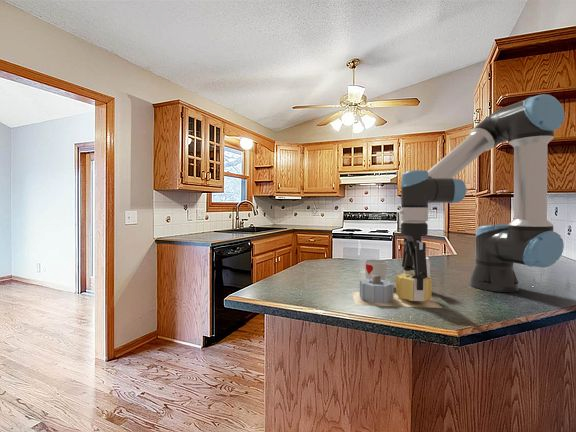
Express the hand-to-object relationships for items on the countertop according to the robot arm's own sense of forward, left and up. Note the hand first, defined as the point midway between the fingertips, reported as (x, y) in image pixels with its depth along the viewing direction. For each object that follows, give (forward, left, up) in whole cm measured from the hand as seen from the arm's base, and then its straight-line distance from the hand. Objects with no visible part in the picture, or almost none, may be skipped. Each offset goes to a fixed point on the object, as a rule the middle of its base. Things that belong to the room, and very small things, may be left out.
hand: (413, 295), depth 94 cm
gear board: (+6, 0, -3) cm, 7 cm away
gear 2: (0, 0, 0) cm, 0 cm away
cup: (+8, -18, -3) cm, 20 cm away
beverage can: (-6, -16, -3) cm, 17 cm away
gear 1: (+11, 0, -1) cm, 11 cm away
